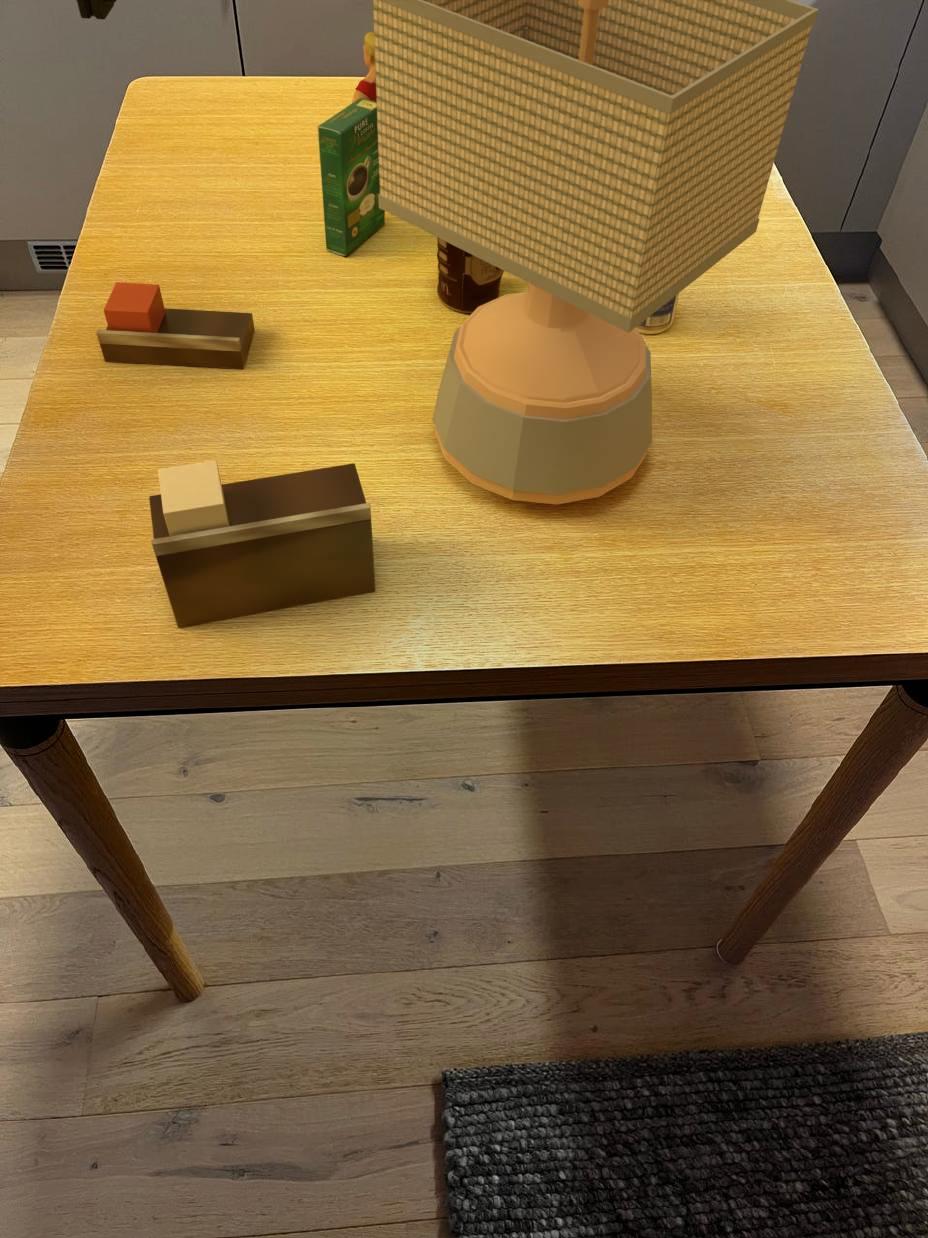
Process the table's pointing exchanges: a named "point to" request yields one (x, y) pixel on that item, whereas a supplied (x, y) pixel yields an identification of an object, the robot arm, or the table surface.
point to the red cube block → (135, 308)
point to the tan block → (192, 498)
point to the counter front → (270, 547)
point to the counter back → (185, 340)
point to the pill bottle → (659, 318)
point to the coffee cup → (465, 279)
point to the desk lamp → (575, 201)
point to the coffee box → (350, 176)
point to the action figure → (368, 84)
